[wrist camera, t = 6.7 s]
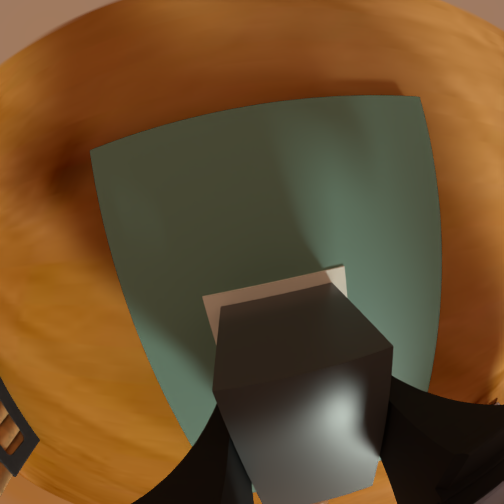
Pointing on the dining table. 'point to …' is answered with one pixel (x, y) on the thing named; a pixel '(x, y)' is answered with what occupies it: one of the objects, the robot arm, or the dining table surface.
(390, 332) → the board
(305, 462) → the block
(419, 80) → the dining table surface
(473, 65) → the dining table surface
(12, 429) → the ammunition clip
